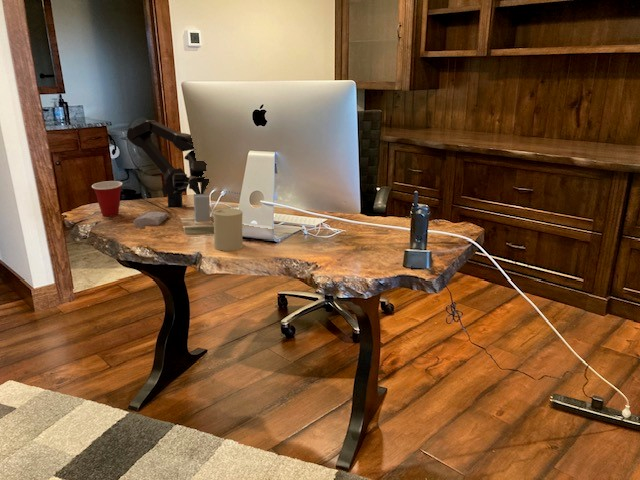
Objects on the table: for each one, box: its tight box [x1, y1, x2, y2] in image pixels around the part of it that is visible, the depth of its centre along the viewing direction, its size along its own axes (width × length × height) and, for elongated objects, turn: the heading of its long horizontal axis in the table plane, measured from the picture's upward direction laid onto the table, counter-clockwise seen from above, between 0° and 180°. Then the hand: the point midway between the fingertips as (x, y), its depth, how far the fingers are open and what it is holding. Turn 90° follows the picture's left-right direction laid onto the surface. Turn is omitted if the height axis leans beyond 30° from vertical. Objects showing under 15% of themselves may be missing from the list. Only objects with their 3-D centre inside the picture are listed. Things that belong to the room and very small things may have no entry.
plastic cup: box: [91, 180, 123, 217], centre depth 194 cm, size 11×11×12 cm
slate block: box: [193, 193, 211, 222], centre depth 189 cm, size 5×5×9 cm
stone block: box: [133, 211, 168, 229], centre depth 187 cm, size 12×5×10 cm
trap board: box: [180, 215, 214, 238], centre depth 184 cm, size 20×15×3 cm
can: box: [213, 207, 244, 252], centre depth 164 cm, size 9×9×12 cm
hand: (201, 199), depth 191 cm, fingers closed
